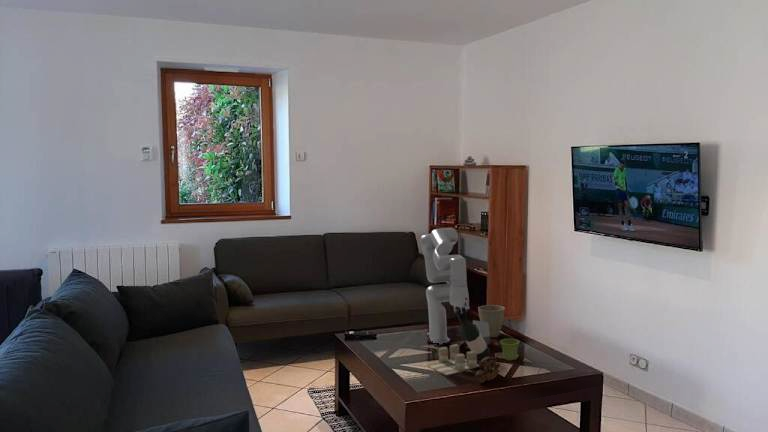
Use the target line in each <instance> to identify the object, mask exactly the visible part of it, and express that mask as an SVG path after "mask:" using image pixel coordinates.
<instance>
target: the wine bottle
mask: <svg viewBox="0 0 768 432" xmlns="http://www.w3.org/2000/svg"><path fill="white" fill-rule="evenodd" d="M460 313H461V311H460V308H456V309H455V312H454V315H455V314H456V316H457V317H458V319H459V320H458V321H459V323H460V324H461V330H460V333H461V336H462V337H463V340H464V341H465V342H466V345H467V346H468V348H469V350H470V351H475V352H476V354H477V360H479V361H481V360H482V359H483V358H485V357H490V355H491V349H490V348H489V345H487V344H486V342H485V341H484V339H483V337H482V335H481V333H480V332H479V330H478V328H477V326H476V325H474V324H473V322H471V321H468V319H467V318H466V321H462V322H461V321H460Z"/></svg>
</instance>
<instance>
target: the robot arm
mask: <svg viewBox="0 0 768 432" xmlns="http://www.w3.org/2000/svg"><path fill="white" fill-rule="evenodd" d="M458 239H459V234H458V232H457V230H456V228H453V227H442V228H435V229H433V230H432V231H431V232H430V233H426V234H423V235H421V236H420V238H419V247H420V250H421V253H422V255H423V257H424V263H425V272H426V278H427V281H428V282H429V283H432V284H433V283H443V284H433V285H430V286H428V287H427V288H426V290H425V295H426V301H427V309H428V324H429V325H428V327H429V330H428V331H429V332H427V333H426V334H427V336H428V338H430V340H431V341H433V343H439V345H444V344H443V343H446V344H448V343H450V342H449V341H451V339H450V337H448V334H447V333H448V332H447V330H448V329H447V327H448V326H447V311H446V307H444V305H443V304H442V303H444V302H445V303H446V302H447V303H448V302H449V305H451V306H452V309H453V312H454V320H455V321H457V320H458V321H459V319H458V317H457V316H456V314H455V309H456V308H460V311H461V313H460V321H461V322H462V321H466V319H467V312H468V310H470V309H471V308H470V295H469V290H468V282H467V280H468V279H467V277H468V276H467V262H466V261H467V260H466V258H465V257H464V256H462V255H461V254H450V253H451V252H452V250H453V248H454V245H456V244H457V242H458ZM460 321H459V322H460ZM447 342H448V343H447Z"/></svg>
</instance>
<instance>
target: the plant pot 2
mask: <svg viewBox="0 0 768 432" xmlns="http://www.w3.org/2000/svg"><path fill="white" fill-rule="evenodd" d="M499 342H500V345H501V348H502V354H503V359H505V361H513V360H514V361H515V360H517V357H518V350H519V345H520V340H518V339H514V338H503V339H501V340H499Z"/></svg>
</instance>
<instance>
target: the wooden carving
mask: <svg viewBox="0 0 768 432" xmlns="http://www.w3.org/2000/svg"><path fill="white" fill-rule="evenodd" d="M478 365H479V367H478V368H479V370H476V373H475V374H474V375H475V377H476V380H477V382H479V383H484V382H485V381H492V380H494V379H496V377H497V376H498V375H499V373H500V369H499V368H500V367H501V364H500V363H497V357H495V356H494V357H493V356H488V357H485V358H483V359H482V360H479V361H478ZM491 379H492V380H491Z"/></svg>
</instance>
